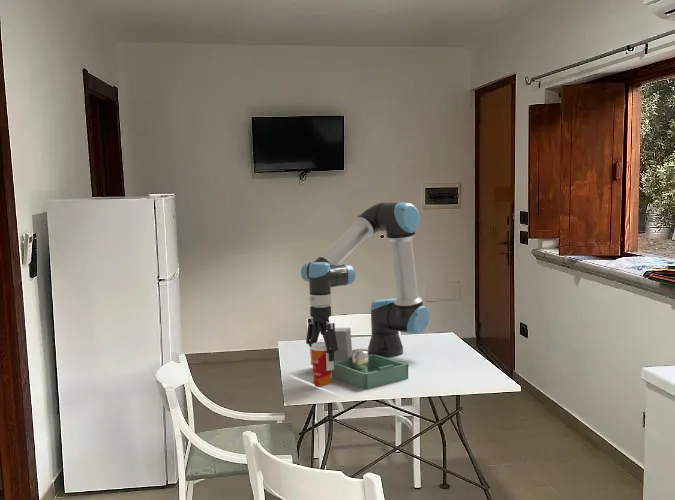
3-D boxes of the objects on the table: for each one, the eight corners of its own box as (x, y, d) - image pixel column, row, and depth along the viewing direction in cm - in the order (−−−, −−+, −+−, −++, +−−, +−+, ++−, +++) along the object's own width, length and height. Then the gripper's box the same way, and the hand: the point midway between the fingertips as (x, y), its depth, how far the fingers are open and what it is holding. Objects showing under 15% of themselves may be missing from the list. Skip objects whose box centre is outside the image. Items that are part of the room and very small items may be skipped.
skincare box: (353, 366, 260) (352, 327, 259) (347, 371, 253) (346, 330, 252) (333, 365, 263) (332, 326, 261) (327, 369, 256) (326, 329, 255)
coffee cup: (310, 382, 240) (309, 341, 239) (333, 380, 241) (332, 340, 240) (311, 388, 232) (310, 347, 231) (335, 387, 233) (333, 346, 231)
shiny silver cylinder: (349, 374, 246) (348, 350, 246) (362, 371, 250) (361, 348, 249) (359, 377, 242) (358, 353, 241) (372, 374, 245) (371, 350, 244)
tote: (332, 378, 244) (331, 360, 243) (373, 369, 255) (373, 351, 255) (365, 391, 227) (365, 371, 227) (408, 380, 239) (408, 361, 238)
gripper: (295, 303, 241) (297, 362, 243) (329, 311, 223) (331, 375, 225) (312, 300, 245) (313, 359, 247) (347, 308, 227) (348, 371, 229)
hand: (322, 367), depth 236 cm, fingers open, 9 cm apart
